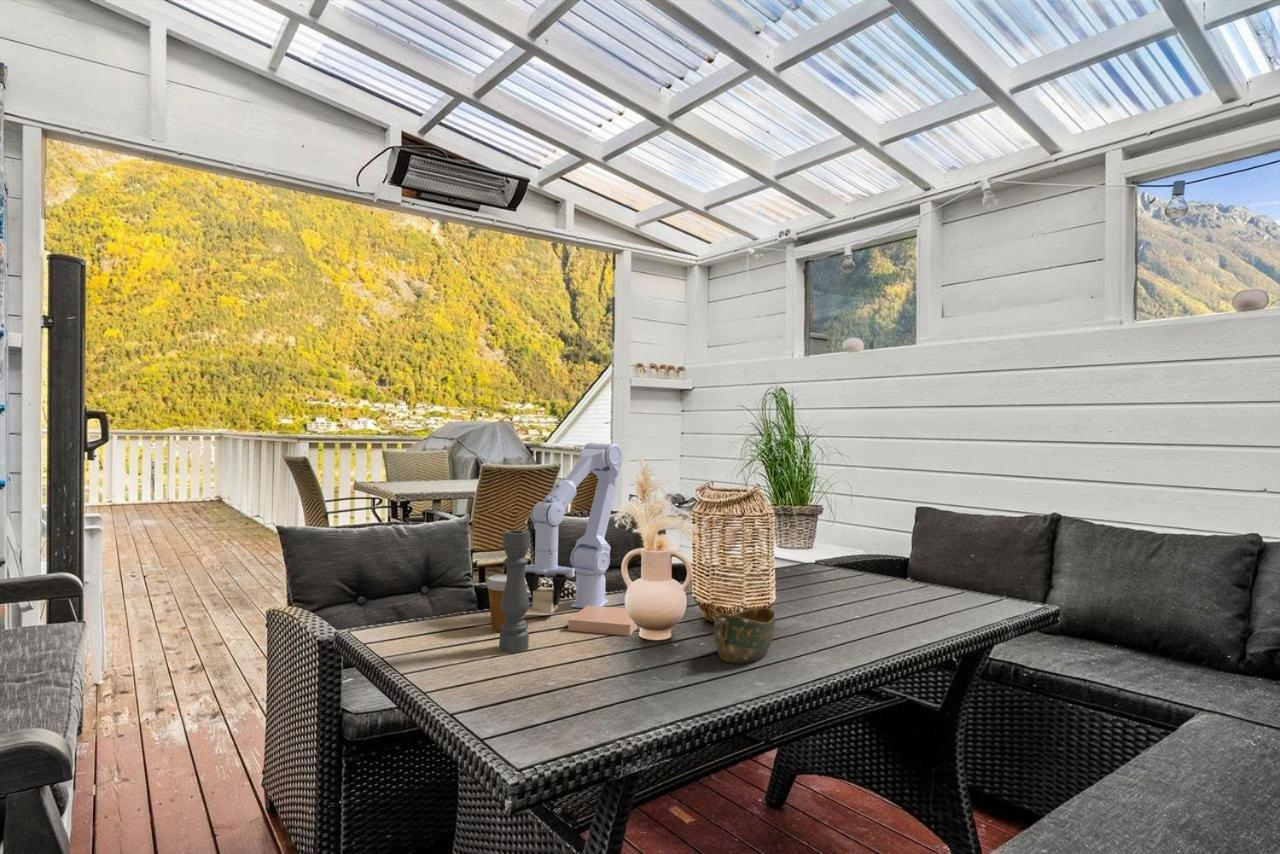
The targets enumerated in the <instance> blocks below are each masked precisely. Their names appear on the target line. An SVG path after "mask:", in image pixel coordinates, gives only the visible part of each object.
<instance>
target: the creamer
mask: <svg viewBox="0 0 1280 854" xmlns="http://www.w3.org/2000/svg"><path fill="white" fill-rule="evenodd" d="M713 623H714V624H713V626H714V627H713V637H714V643H715V647H716V650H717V653H718V655H719V657H720V659H721V660H722V661H723V662H727V663H731V664H738V665H739V664H741V665H742V664H745V665H746V664H750V663H754V662H756V661H758V660H759V661H760V660H761V659H763V658H765V656H766V655H767V653H768V650H769V648H770V646H772V645H771V644H772V642H773V639H774V638H773V637H774V634H775V627H776V613H775V611H774V610H773V609H770V608H767V607H755V608H751V609H746V610H743V611H742V610H741V611H738V612H736V613H730V614H725V613H721V612H719V613H718V612H716V613H715V615H714V622H713Z"/></svg>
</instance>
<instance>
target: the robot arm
mask: <svg viewBox="0 0 1280 854" xmlns="http://www.w3.org/2000/svg"><path fill="white" fill-rule="evenodd" d="M579 455H580V457H579V459H578V460H577V462H576V463H575V465H574V467H572V470H571V471H570V472H569V474H568V475H567V477H566V479H561V480H559V481H556V482H555V483H554V487H553V488H552V489H551V490H550V491H549V493H548V494H547V495H546V496H545V497H544V499H543V500H542V501H538V502H537V503H536V504H535V505H534V506H533V508H532V510H531V513H530V519H531V521H532V522H533V529H534V530H535V536H534V537H535V539H534V541H535V543H534V544H535V549H534V564H526V566H525V580H526V582H527V585H526V587H528V590H529V594H530V597H531V600H532V601H531V602H532V604H533V591H534V590H536V589H538V588H539V584H540V576H542V575H545V576H546V575H547V576H554V577H552V580H551V581H552V585H553V587H552V588H554V598H553V603H554V605H557V604H558V605H559V604H560V598H561V595H562V592H563V589H564V587H565V585H566V582H567V580H568V578H573V577H576V581H575V583H576V584H575V585H576V586H575V588H576V589H575V602H573V603H572V604H571V605H570V607H571V608H578V609H583V608H584V607H586V606H587V605H589V606H602V607H605V605H607V604H608V602H609V600H608V599H606V576H605V573H606V571H607V570H608V569H609V566H610V564H611V549H612V547H611V545H610V544H609V543H608V542H607V541H606V539H605V538H606V533H607V531H608V525H609V521H610V517H611V512H612V509H613V505H614V504H613V503H614V499H615V495H616V491H617V487H618V483H619V479H620V478H619V477H620V472H621V468H622V467H621V466H622V463H623V459H624V454H623V452H622V450H621V448H620V446H619V444H617V443H614V442H612V443H601V442H600V443H596V442H588V443H586V444H585V445H584V447H583V448H582V449H581V451H580V454H579ZM591 472H592V473H593V474H594V475H596V478H597V483H596V487H595V493H594V497H593V499H592V504H591V509H590V512H589V516H588V522H587V526H586V529H585V533H584V535H582V536H580V537H579V538H578V539H577V540H576V543H575V546H574V548H573V549H572V550H571V553H570V557H569V558H570V560H569V561H570V564H571V566H572V567H568V566H561V565H559V561H558V559H559V525H560V524H561V523H562V522H563V521H564V517H565V512H566V511H567V510H566V509H567V507H568V506H569V505H570V503H571V502H572V501H573V500H574V498H575V497H576V496H577V488H578V486H579V485H580V484H581V483H582V481H584V480H585V479H586V478H587V476H588V475H589V474H590V473H591ZM575 572H576V574H575ZM575 575H576V576H575Z"/></svg>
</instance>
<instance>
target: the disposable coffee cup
mask: <svg viewBox="0 0 1280 854" xmlns="http://www.w3.org/2000/svg"><path fill="white" fill-rule="evenodd" d="M506 579H507V573H506V574H502V573H501V574H494V575H491V576H489V577H488V578H487V581H486V582H485V583H486V584H485V585H486V588H487V589H488V599H489V609H490V619H491V621H490V622H491V630H492V631H494V632H499V633H500V632H501V631H503V630H502V629H501V625H502V624H503V623H504V621H505V620H506V619H505V618H504V616H505V615H504V613H503V612H502V610H501V607H500V605H501V600H502V596H503V592H504V588H505V584H506ZM525 584H526V586H527V582H526V580H525Z"/></svg>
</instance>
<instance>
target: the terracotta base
mask: <svg viewBox="0 0 1280 854" xmlns="http://www.w3.org/2000/svg"><path fill="white" fill-rule="evenodd" d="M626 608H627V607H625V608H624V607H612V606H603V607H602V606H589V605H587V606H586V607H584V608H581V609H580V610H579V611H578V612H576V613H575V614H574V615H573V616H571V617H569V619H568V623H567V624H568V625H567V630H568V631H574V632H581V633H594V634H606V635H615V636H616V635H617V636H628V637H630V636H631V635H632V634H633V633H634V632H635V631H636V629H638V627H637V625H636V624H635V623H634V621H633V620H632V619H631V618H630V617H629V615H628V613H627V611H626Z"/></svg>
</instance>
